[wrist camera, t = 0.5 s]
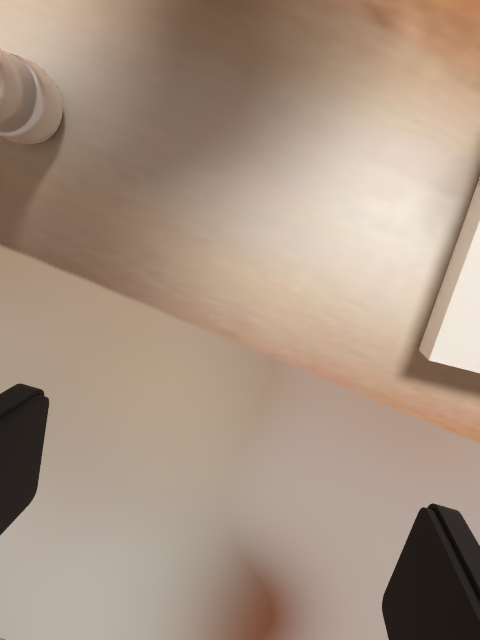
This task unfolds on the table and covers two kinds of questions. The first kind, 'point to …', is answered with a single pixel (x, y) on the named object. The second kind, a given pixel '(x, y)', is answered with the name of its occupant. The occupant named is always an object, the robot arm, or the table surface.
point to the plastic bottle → (27, 101)
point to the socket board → (458, 301)
